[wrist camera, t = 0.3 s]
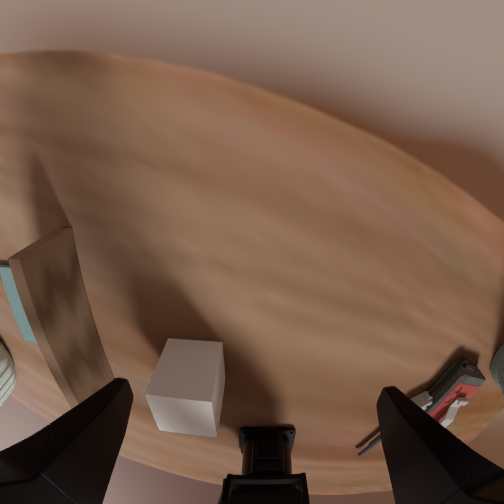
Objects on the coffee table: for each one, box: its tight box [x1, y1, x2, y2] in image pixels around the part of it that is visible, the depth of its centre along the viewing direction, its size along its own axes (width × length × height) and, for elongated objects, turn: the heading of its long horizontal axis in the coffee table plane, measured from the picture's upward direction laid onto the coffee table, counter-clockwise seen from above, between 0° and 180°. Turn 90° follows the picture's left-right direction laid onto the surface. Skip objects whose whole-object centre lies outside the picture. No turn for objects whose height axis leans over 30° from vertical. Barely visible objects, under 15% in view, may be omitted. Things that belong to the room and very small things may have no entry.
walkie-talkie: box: [358, 357, 485, 457], centre depth 27 cm, size 9×4×20 cm
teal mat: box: [0, 265, 38, 344], centre depth 25 cm, size 10×10×1 cm
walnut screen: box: [8, 227, 115, 408], centre depth 22 cm, size 22×2×7 cm, turn 0°
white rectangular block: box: [145, 338, 225, 437], centre depth 23 cm, size 5×5×7 cm
